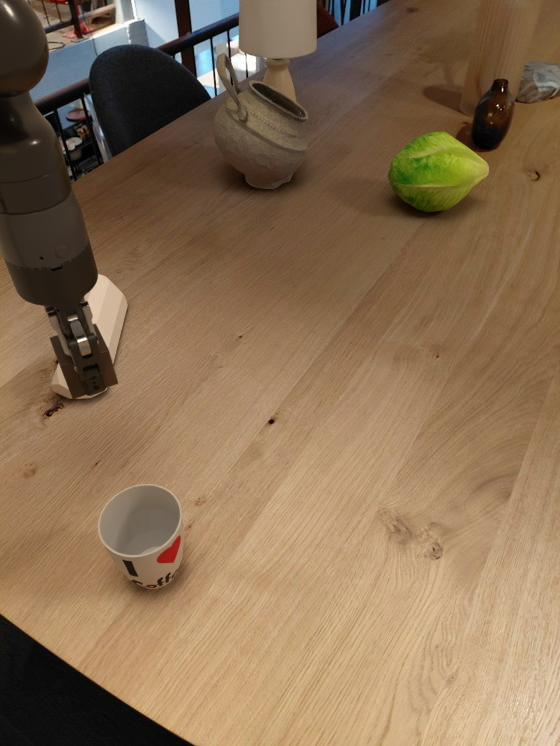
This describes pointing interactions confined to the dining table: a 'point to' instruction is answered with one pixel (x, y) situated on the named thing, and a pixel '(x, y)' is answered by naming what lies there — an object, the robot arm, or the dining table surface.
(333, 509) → the dining table surface
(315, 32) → the lamp
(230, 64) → the pot
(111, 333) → the crystal
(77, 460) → the dining table surface
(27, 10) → the robot arm
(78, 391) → the walnut block
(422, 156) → the lettuce
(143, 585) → the cup
